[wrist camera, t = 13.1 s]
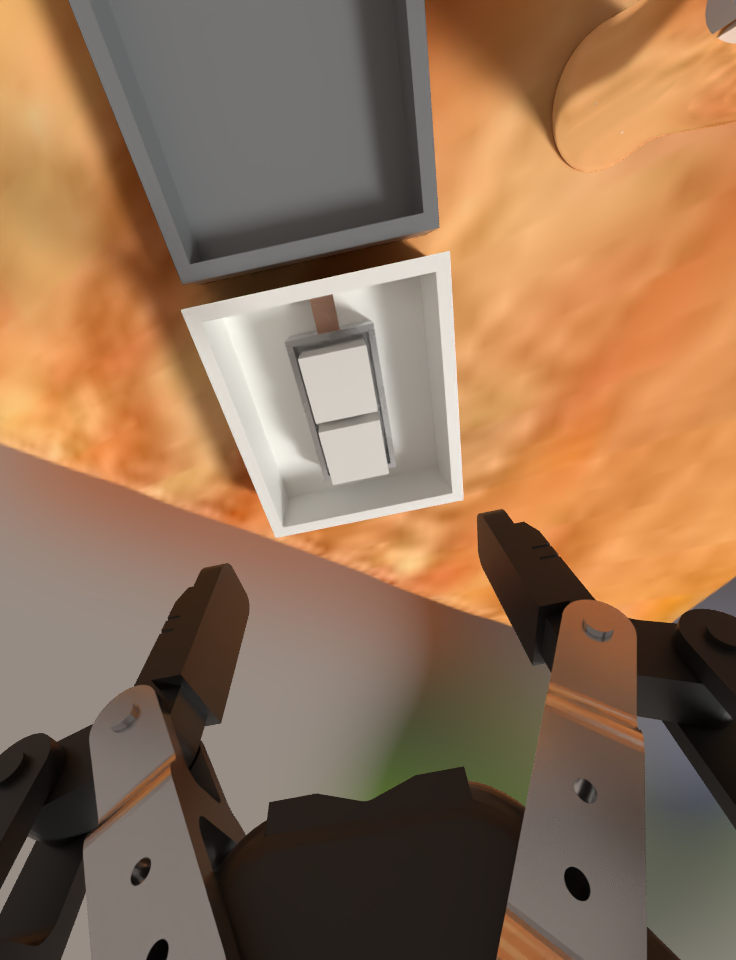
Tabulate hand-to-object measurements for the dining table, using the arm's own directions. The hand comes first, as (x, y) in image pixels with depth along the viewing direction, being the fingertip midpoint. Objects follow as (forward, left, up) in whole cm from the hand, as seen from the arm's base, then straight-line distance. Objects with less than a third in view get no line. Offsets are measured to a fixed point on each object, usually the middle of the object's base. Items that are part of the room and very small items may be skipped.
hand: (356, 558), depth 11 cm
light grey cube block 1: (-2, 0, -16) cm, 17 cm away
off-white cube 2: (+2, 0, -16) cm, 17 cm away
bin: (0, 0, -18) cm, 18 cm away
